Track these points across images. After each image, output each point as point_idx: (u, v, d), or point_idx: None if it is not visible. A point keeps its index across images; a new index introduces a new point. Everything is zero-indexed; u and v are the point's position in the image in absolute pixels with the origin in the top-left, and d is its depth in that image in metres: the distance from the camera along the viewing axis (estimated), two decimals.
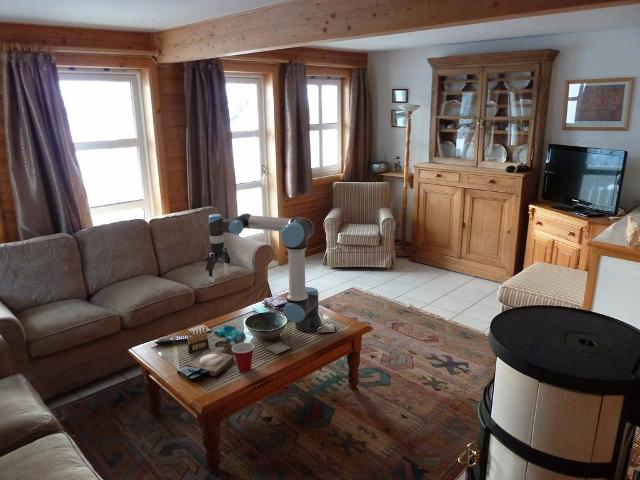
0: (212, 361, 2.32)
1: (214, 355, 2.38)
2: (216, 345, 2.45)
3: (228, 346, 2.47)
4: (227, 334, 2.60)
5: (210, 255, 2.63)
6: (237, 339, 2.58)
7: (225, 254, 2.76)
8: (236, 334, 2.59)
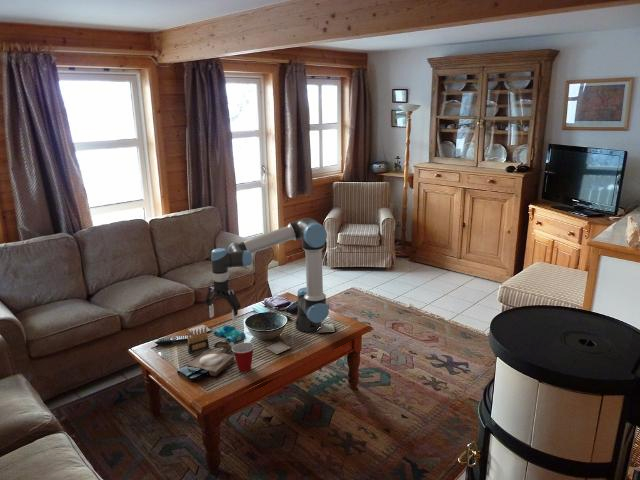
0: (212, 361, 2.32)
1: (214, 355, 2.38)
2: (215, 346, 2.44)
3: (227, 347, 2.46)
4: (227, 334, 2.60)
5: None
6: (237, 339, 2.58)
7: None
8: (236, 334, 2.59)
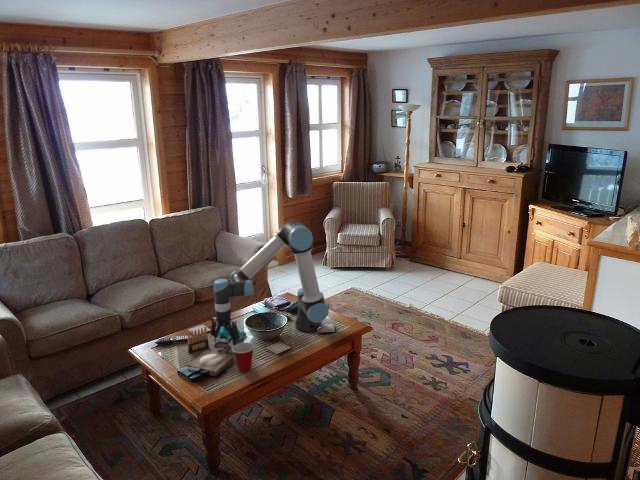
0: (212, 361, 2.32)
1: (214, 355, 2.38)
2: (215, 346, 2.44)
3: (227, 347, 2.46)
4: (228, 334, 2.60)
5: None
6: (240, 338, 2.59)
7: None
8: None
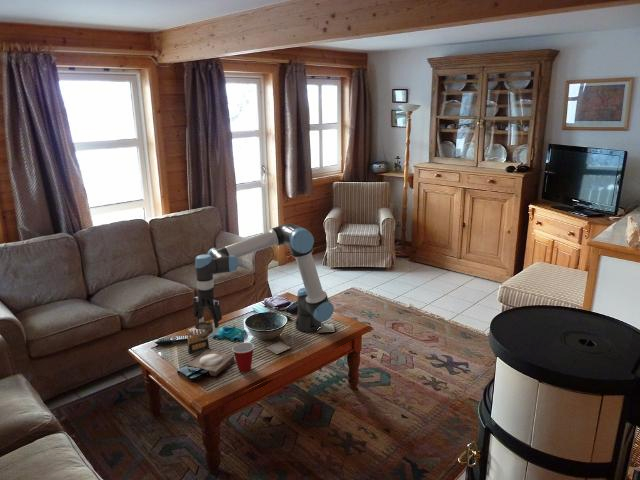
0: (212, 361, 2.32)
1: (214, 355, 2.38)
2: (196, 327, 2.27)
3: (209, 328, 2.29)
4: (231, 334, 2.60)
5: None
6: (243, 336, 2.62)
7: None
8: (241, 332, 2.61)
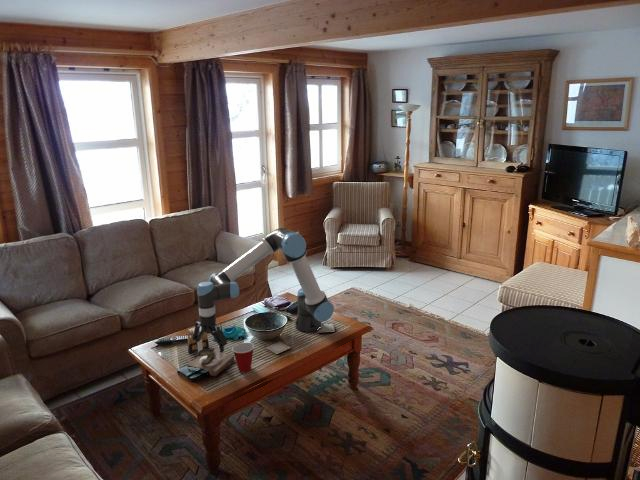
0: (212, 361, 2.32)
1: None
2: (199, 354, 2.31)
3: (212, 354, 2.32)
4: (234, 334, 2.61)
5: None
6: None
7: None
8: (243, 329, 2.64)
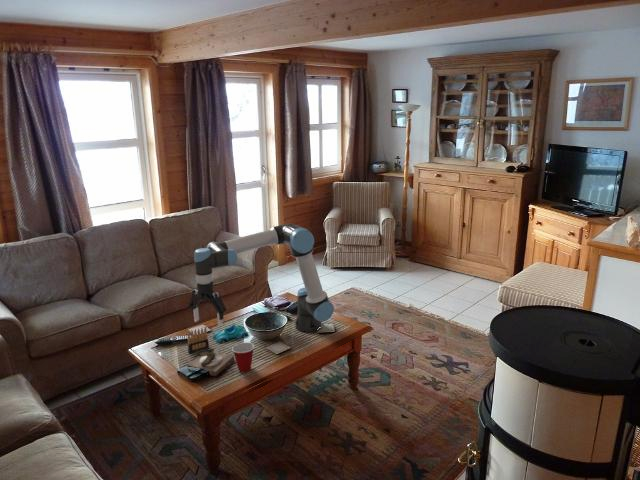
0: (212, 361, 2.32)
1: None
2: (198, 354, 2.30)
3: (211, 355, 2.32)
4: (236, 333, 2.62)
5: None
6: None
7: None
8: (243, 327, 2.66)
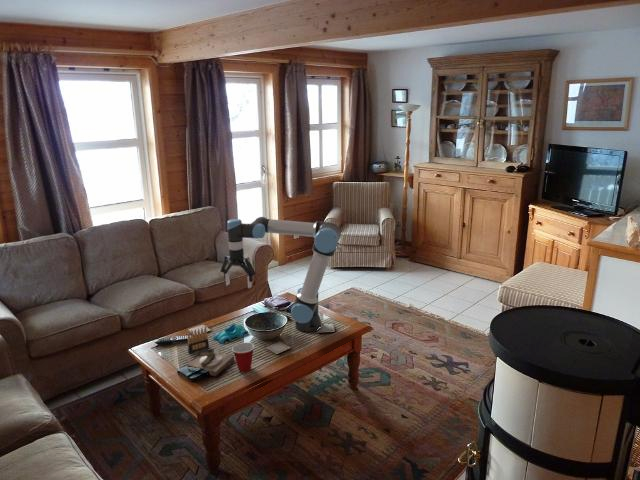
0: (212, 361, 2.32)
1: None
2: (198, 354, 2.30)
3: (211, 355, 2.32)
4: (237, 332, 2.63)
5: None
6: None
7: None
8: (242, 326, 2.67)
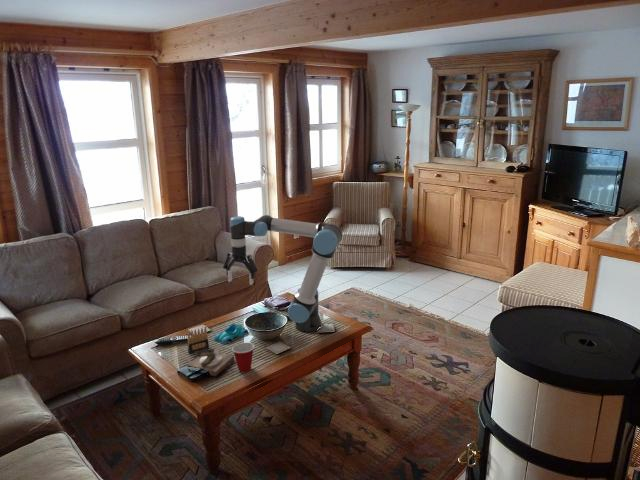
0: (212, 361, 2.32)
1: None
2: (199, 354, 2.30)
3: (211, 355, 2.32)
4: (238, 331, 2.63)
5: None
6: None
7: None
8: (241, 326, 2.68)
